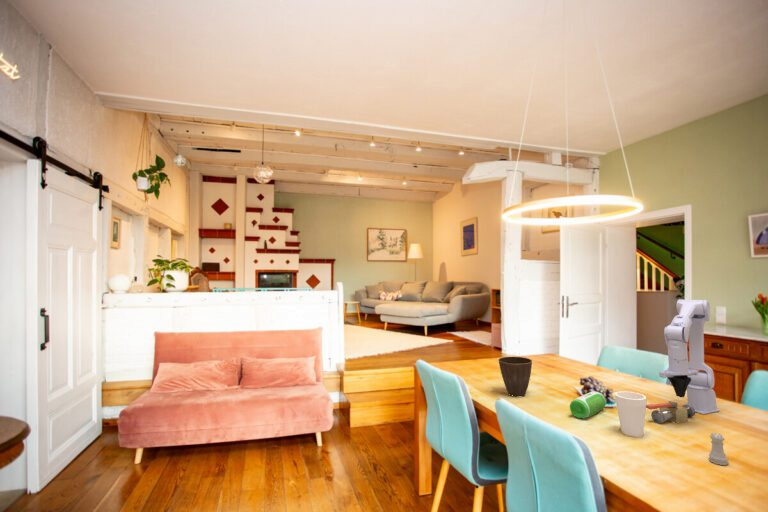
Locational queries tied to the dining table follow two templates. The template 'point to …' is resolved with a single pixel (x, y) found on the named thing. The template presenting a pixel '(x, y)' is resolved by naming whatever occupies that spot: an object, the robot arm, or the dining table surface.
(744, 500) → the dining table surface
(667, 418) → the valve body
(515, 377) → the plant pot
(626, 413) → the foam cup
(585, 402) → the speaker
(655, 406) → the lever
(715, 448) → the rook chess piece
